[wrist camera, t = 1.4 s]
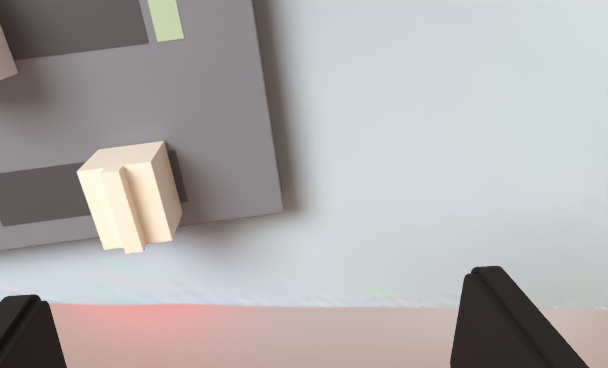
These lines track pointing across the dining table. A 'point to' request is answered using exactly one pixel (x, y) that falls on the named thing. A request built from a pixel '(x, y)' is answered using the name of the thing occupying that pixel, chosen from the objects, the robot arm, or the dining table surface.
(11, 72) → the ridged white block
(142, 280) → the dining table surface
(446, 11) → the dining table surface
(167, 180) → the cream tab
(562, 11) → the dining table surface
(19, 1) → the switch panel
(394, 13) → the dining table surface
